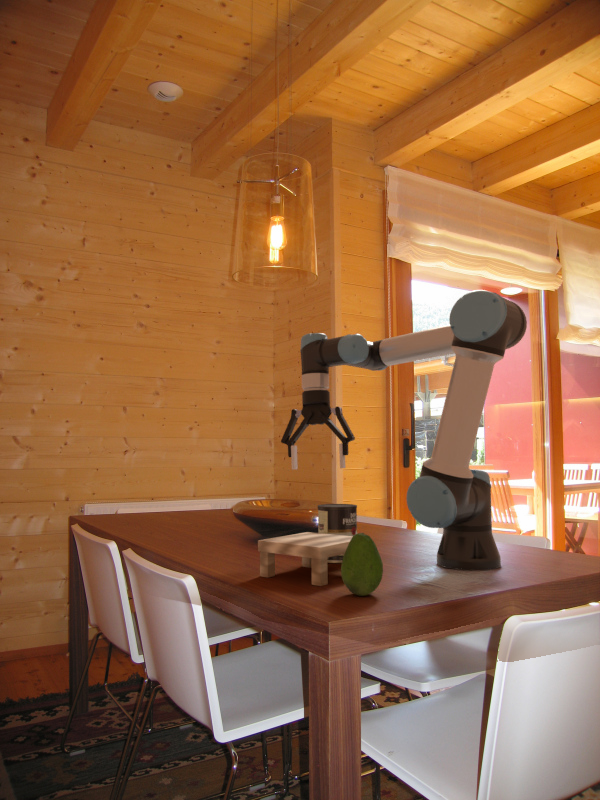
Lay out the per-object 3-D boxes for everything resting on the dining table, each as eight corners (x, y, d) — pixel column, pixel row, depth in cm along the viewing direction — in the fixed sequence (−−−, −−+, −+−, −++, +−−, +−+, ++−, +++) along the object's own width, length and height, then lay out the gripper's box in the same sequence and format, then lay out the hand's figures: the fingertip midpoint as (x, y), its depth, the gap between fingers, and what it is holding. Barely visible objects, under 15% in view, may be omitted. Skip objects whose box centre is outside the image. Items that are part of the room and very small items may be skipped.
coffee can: (365, 559, 160) (364, 504, 161) (343, 564, 152) (342, 507, 153) (332, 555, 166) (332, 502, 167) (310, 560, 158) (309, 505, 159)
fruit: (360, 588, 125) (359, 529, 126) (391, 594, 119) (390, 532, 120) (333, 594, 120) (332, 532, 121) (364, 601, 114) (362, 536, 115)
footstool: (368, 573, 141) (367, 537, 142) (320, 586, 127) (320, 547, 128) (307, 564, 152) (307, 532, 153) (258, 576, 139) (257, 540, 139)
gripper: (363, 388, 166) (366, 467, 164) (278, 394, 174) (280, 469, 172) (356, 385, 159) (360, 467, 157) (268, 392, 167) (270, 470, 165)
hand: (318, 469), depth 165 cm, fingers open, 13 cm apart
